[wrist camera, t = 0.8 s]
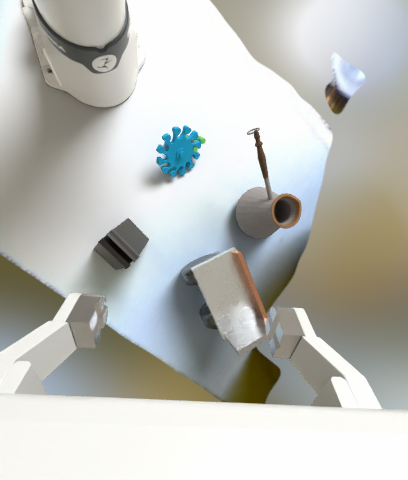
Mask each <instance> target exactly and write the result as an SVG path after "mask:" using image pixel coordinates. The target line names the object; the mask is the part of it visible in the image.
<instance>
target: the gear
mask: <svg viewBox="0 0 408 480" xmlns="http://www.w3.org/2000/svg"><path fill="white" fill-rule="evenodd" d="M172 131H173V139H172V142H170V139H171V136H170V135H169V134H167V133H166V134H164V135H163V136H162V139H163V140H164V141H165V145H167V149H166V150H165V149H164V147H163V146H162V145H158V147H157V149H156V151H157V152H159V153H163V154H165V155H166V158H165V159H162V158H161V157H157V164H158V165H162V164H164V163H169V164H168V166H162V167H161V170H162V172H163V173H164V174H166V173H167V172H168V171H169V170H170V169H171V168H173V167H174V169H172V170H170V172H169V174H170V175H171V176H173V177H175V176H176V173H177V171H178V169H179V168H180V167H181V168H180V169H179V171H178V172H179V174H181V175H184V174H185V173H186V171H185V166H186V163H187V162H188V163H187V167H188V168H190V169H191V168H193V167H194V164H193V163H192V161H191V156H192V155H193V157H194V158H195V159H198V158H199V156H200V154H199V153H198V152H196V151H197V148H198V149H199V148H200V147H201V143H202V144H204V143H205V141H206V140H205V139H204V138H203V137H201V136H199V137H198V133H197V132H196V131H192V133H191V134H190V135H189V136H188V135H187V134H189V133H190V132H191V129H190V128H189V127H187V126H186V125H185V126H184V127H183V131H182V133H181V135H180V136H179V137H178V135H179V134H180V132H181V129H180V128H179V127H173V128H172ZM177 137H178V138H177ZM197 138H198V139H197Z"/></svg>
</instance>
